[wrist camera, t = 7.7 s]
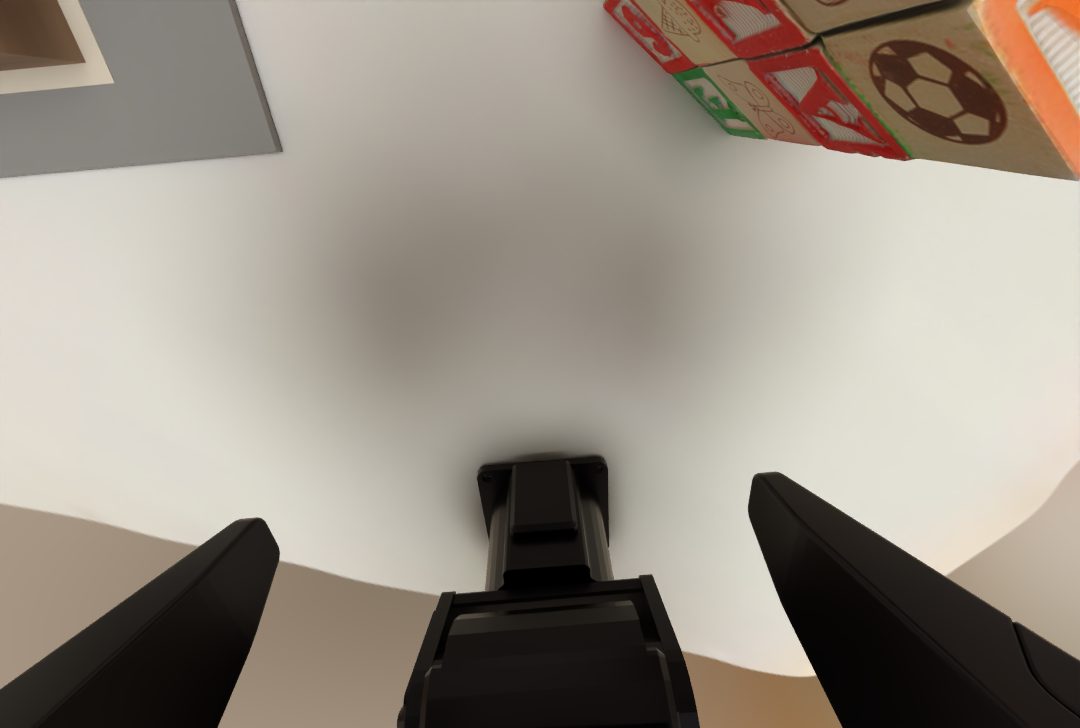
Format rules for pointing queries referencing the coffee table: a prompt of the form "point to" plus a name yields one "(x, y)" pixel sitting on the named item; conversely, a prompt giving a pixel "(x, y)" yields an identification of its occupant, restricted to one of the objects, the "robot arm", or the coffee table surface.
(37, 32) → the walnut base
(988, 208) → the coffee table surface
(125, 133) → the mat
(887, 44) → the stack of blocks
